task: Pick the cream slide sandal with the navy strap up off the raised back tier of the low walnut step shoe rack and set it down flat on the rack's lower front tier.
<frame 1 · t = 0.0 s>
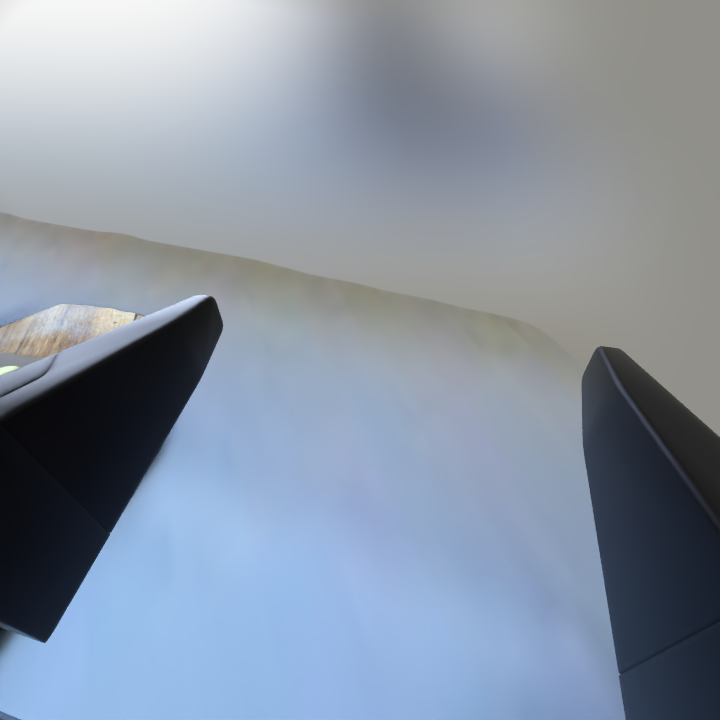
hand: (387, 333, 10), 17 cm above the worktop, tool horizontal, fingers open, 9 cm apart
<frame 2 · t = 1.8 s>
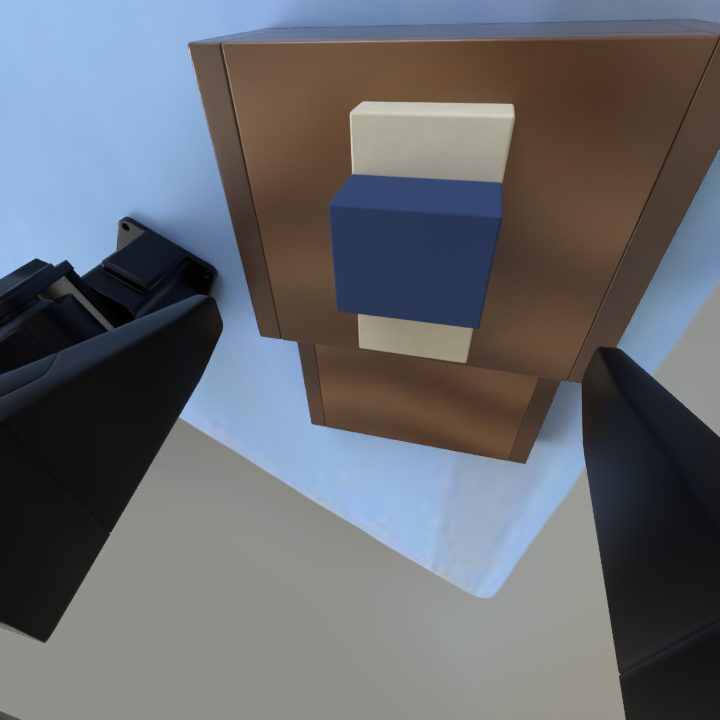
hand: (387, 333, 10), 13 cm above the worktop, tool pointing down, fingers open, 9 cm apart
shoe rack: (429, 291, 24), on the worktop
sandal: (423, 241, 15), point 6 cm above the worktop, touching shoe rack
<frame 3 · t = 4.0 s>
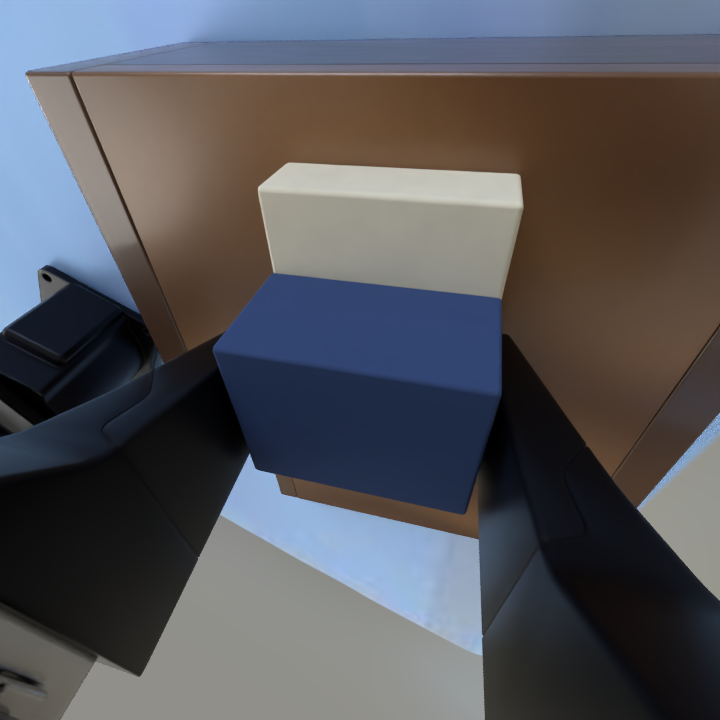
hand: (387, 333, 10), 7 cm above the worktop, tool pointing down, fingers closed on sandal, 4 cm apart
shoe rack: (413, 361, 19), on the worktop
sandal: (391, 344, 11), point 6 cm above the worktop, touching gripper, shoe rack
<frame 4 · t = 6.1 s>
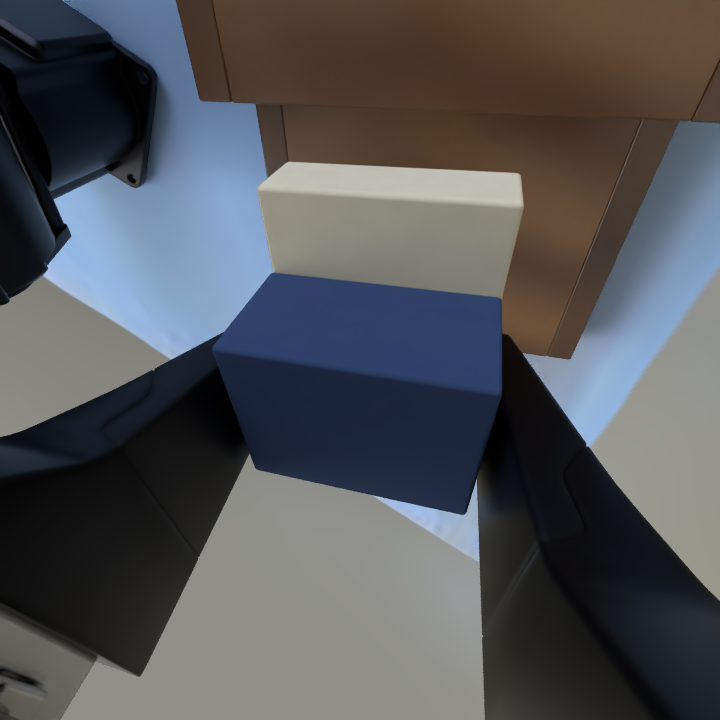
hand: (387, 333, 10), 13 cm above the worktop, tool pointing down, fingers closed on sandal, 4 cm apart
shoe rack: (453, 78, 16), on the worktop
sandal: (391, 344, 11), point 12 cm above the worktop, touching gripper
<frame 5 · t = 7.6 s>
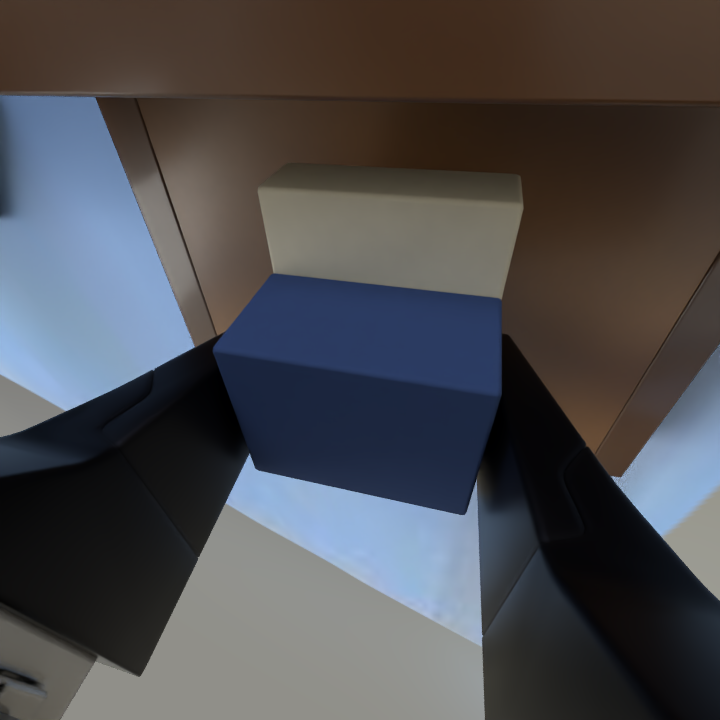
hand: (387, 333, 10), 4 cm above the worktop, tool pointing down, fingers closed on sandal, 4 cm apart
shoe rack: (431, 48, 9), on the worktop
sandal: (391, 344, 11), point 4 cm above the worktop, touching gripper
when the fingers open (3 cm above the worktop, at t = 8.5 s): sandal stays where it is, resting on shoe rack.
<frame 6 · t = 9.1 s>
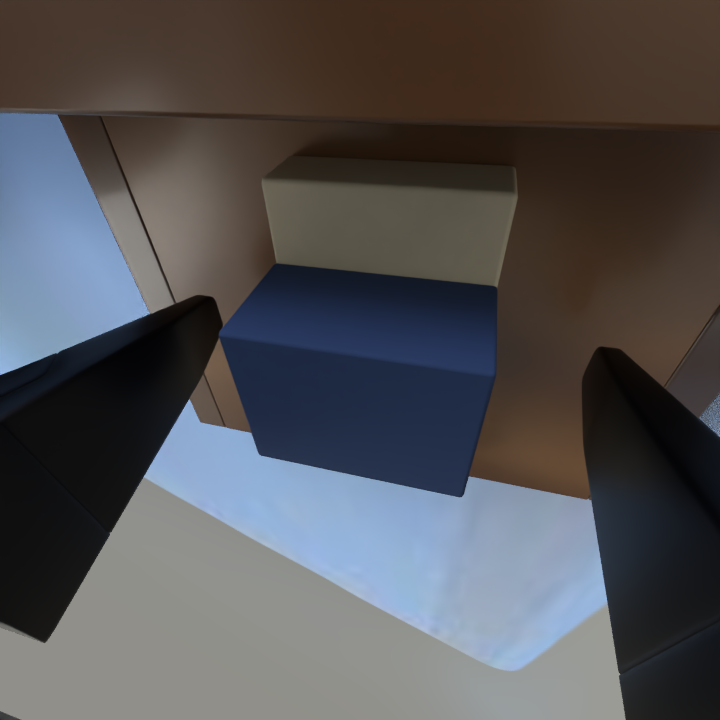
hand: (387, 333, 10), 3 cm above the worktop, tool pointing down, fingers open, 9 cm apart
shoe rack: (420, 53, 8), on the worktop
sandal: (391, 335, 11), point 2 cm above the worktop, touching shoe rack
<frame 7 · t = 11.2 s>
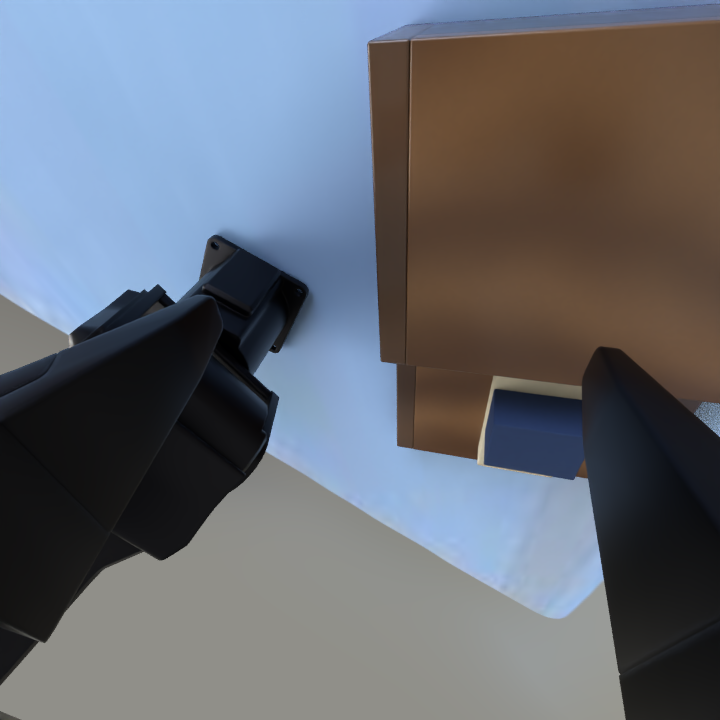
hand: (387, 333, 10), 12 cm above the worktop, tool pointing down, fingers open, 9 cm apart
shoe rack: (551, 305, 22), on the worktop
sandal: (527, 408, 24), point 2 cm above the worktop, touching shoe rack
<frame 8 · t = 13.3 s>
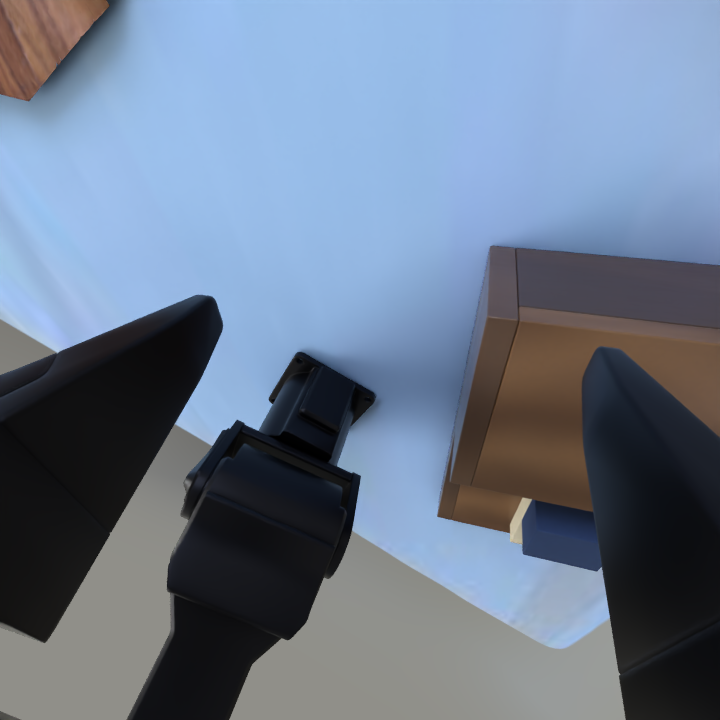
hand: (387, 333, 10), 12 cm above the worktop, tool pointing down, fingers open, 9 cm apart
shoe rack: (583, 427, 26), on the worktop
sandal: (557, 501, 29), point 2 cm above the worktop, touching shoe rack
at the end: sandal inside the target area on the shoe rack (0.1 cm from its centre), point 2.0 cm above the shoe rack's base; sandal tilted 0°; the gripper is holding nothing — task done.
